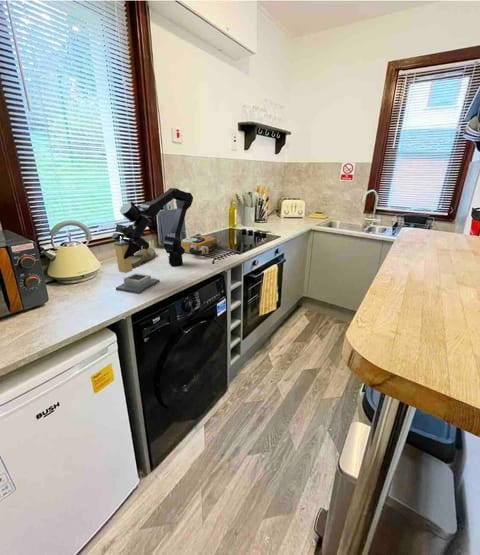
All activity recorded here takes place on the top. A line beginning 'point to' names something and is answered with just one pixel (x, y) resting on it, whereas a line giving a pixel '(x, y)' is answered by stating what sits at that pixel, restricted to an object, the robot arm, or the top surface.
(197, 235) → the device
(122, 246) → the tan upright block
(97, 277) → the top surface
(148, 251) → the sandal
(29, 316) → the top surface
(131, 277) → the grey stepped base
